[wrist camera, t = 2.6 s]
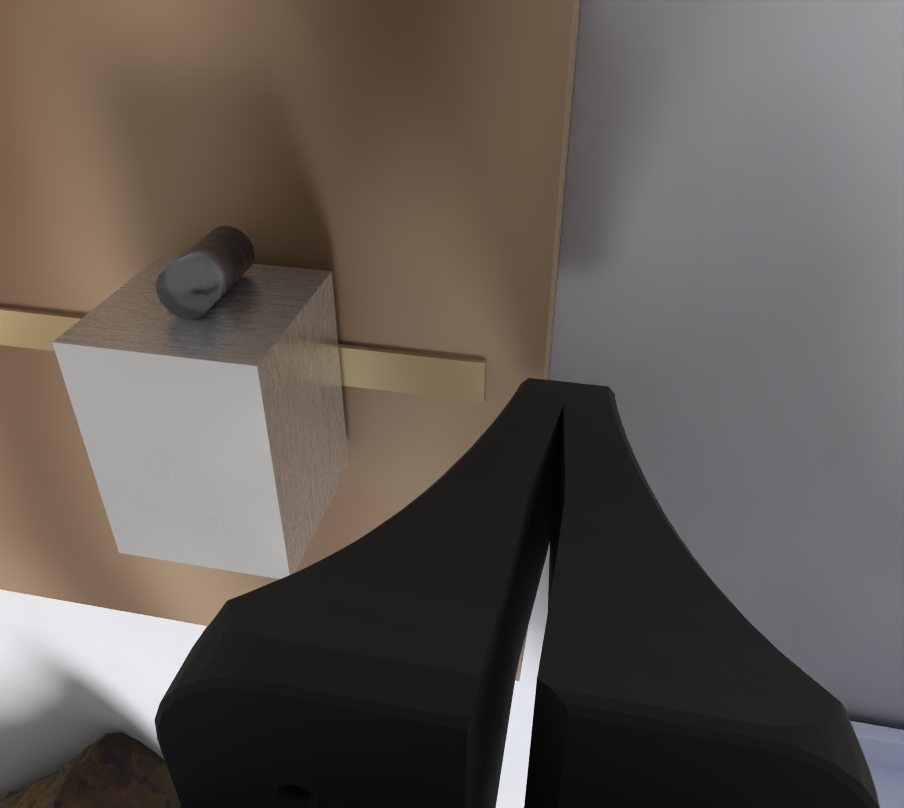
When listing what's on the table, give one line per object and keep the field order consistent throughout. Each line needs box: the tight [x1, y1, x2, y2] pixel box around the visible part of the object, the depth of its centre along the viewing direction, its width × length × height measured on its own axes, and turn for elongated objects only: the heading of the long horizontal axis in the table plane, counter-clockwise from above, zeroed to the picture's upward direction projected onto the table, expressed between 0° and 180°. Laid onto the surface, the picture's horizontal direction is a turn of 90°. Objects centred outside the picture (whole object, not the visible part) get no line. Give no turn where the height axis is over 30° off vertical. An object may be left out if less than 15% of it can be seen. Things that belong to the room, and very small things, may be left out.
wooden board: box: [0, 0, 581, 681], centre depth 15 cm, size 20×14×5 cm
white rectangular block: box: [52, 226, 349, 579], centre depth 13 cm, size 3×5×3 cm, turn 0°
